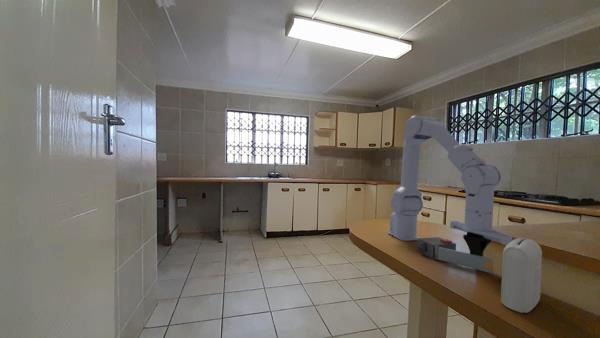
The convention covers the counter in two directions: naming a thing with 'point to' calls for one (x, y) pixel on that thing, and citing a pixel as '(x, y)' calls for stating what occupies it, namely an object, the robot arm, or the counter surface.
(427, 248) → the grey low box
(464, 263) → the side door
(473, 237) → the robot arm
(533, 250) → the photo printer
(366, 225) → the counter surface
